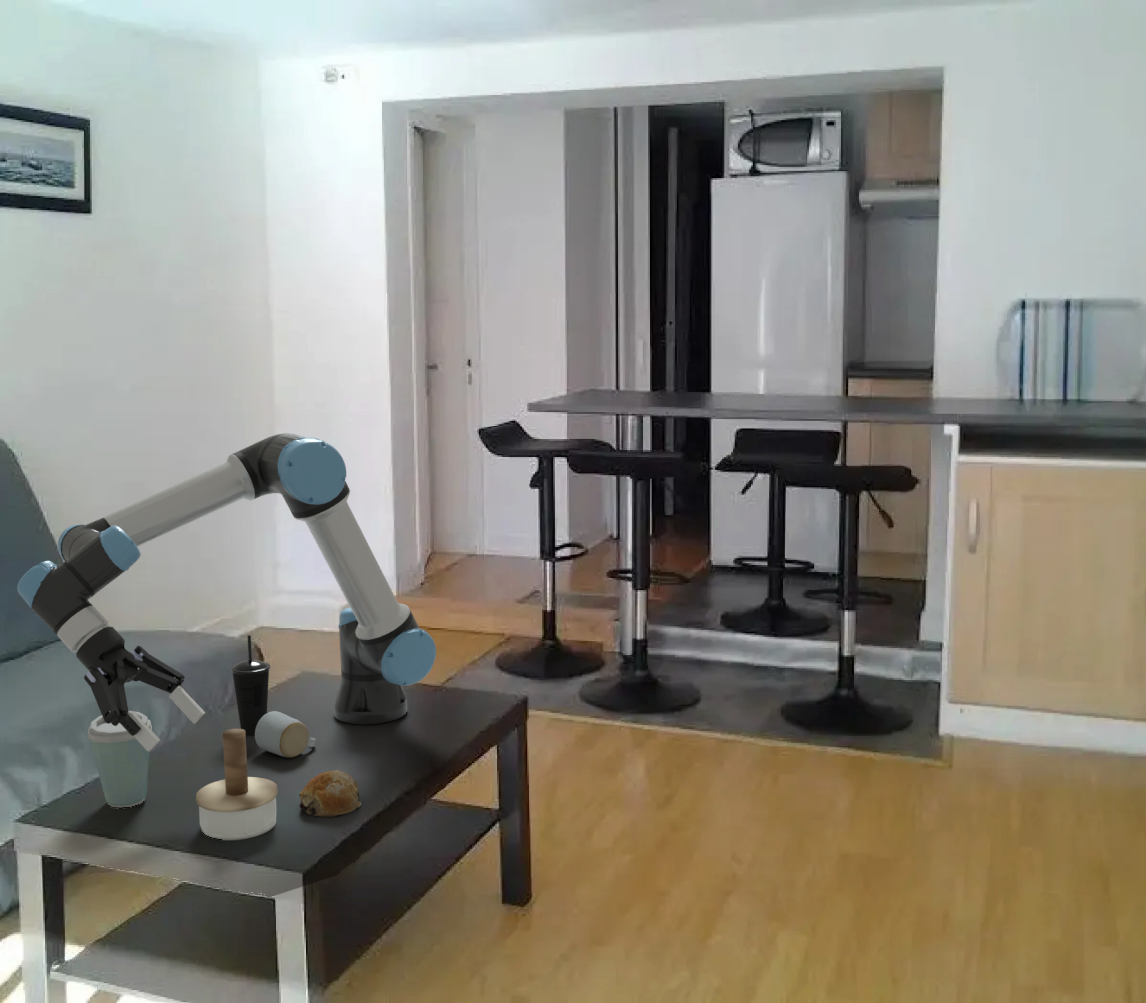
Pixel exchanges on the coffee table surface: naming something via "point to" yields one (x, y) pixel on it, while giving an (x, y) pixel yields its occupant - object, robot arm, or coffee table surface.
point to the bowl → (238, 822)
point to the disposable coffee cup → (120, 762)
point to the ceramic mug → (282, 735)
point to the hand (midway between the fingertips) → (177, 731)
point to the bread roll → (330, 795)
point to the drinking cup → (251, 690)
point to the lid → (236, 781)
